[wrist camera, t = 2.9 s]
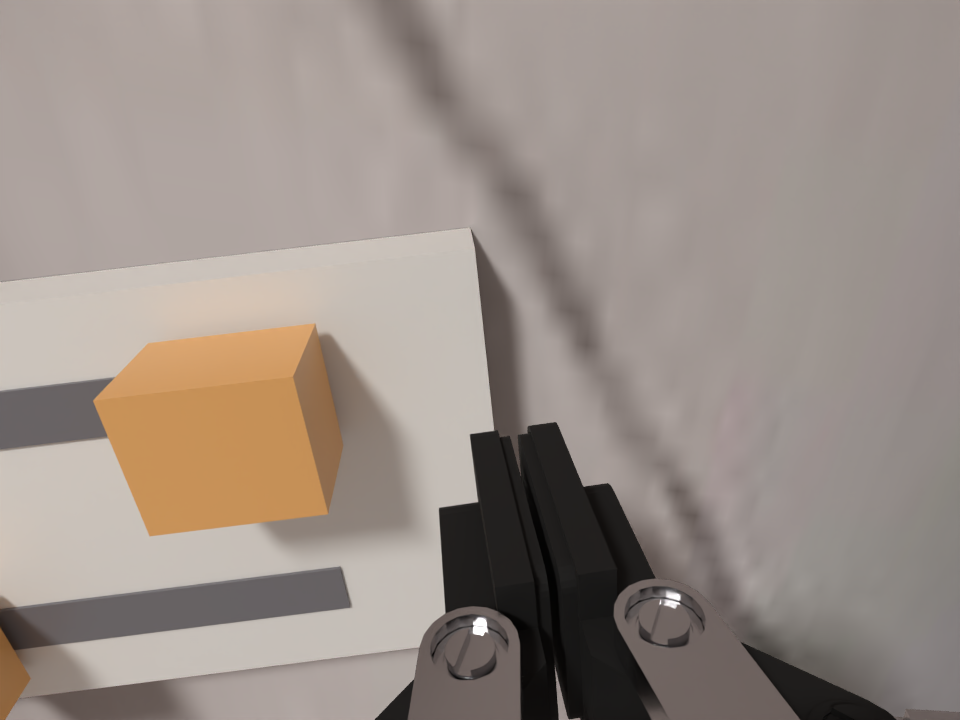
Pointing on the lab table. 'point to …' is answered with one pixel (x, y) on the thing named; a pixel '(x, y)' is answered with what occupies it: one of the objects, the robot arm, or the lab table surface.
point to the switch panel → (252, 547)
